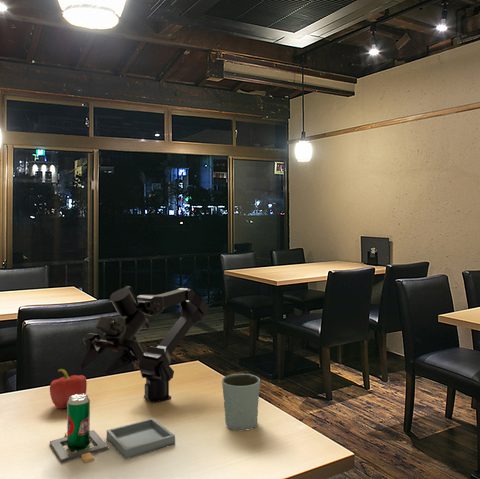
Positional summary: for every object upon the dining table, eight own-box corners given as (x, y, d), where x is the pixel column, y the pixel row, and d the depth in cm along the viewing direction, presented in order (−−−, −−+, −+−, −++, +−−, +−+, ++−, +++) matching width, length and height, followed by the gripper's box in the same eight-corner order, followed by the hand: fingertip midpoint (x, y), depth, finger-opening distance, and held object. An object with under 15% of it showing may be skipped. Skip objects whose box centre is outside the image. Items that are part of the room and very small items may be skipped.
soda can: (82, 453, 104) (82, 401, 103) (62, 451, 105) (62, 400, 104) (93, 443, 109) (93, 393, 108) (75, 441, 110) (74, 392, 109)
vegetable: (42, 405, 132) (42, 371, 132) (74, 396, 140) (74, 364, 140) (60, 415, 125) (60, 380, 125) (93, 405, 133) (93, 371, 132)
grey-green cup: (265, 420, 122) (265, 376, 122) (250, 435, 113) (250, 388, 113) (232, 413, 126) (232, 371, 126) (215, 427, 117) (215, 382, 117)
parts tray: (152, 426, 118) (152, 418, 118) (174, 444, 108) (174, 435, 108) (106, 439, 111) (106, 430, 111) (125, 459, 101) (125, 450, 101)
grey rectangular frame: (90, 428, 116) (90, 425, 116) (112, 454, 103) (112, 451, 103) (46, 439, 110) (46, 436, 110) (65, 468, 97) (64, 465, 97)
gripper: (92, 304, 127) (53, 344, 116) (142, 310, 118) (105, 354, 107) (109, 332, 133) (73, 373, 122) (157, 340, 124) (124, 385, 113)
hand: (92, 371), depth 116 cm, fingers open, 9 cm apart
